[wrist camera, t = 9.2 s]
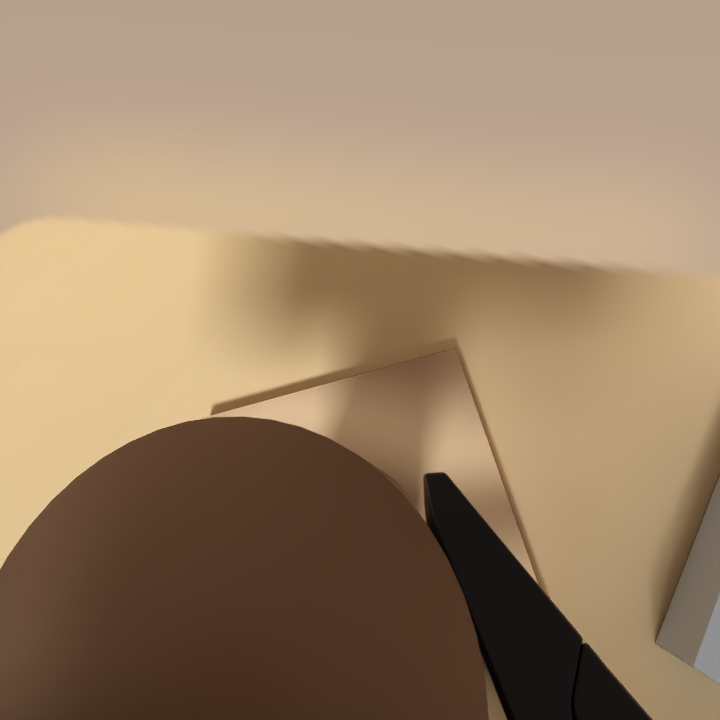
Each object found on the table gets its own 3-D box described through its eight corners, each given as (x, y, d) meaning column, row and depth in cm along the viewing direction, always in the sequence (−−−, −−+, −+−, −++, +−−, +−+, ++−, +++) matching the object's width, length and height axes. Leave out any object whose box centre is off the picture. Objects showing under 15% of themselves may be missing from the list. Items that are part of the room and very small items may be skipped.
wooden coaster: (554, 641, 15) (560, 647, 15) (251, 721, 15) (245, 731, 15) (453, 352, 19) (455, 348, 18) (208, 419, 19) (202, 417, 18)
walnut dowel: (439, 518, 15) (608, 671, 3) (365, 615, 15) (185, 1345, 2) (353, 443, 16) (218, 329, 4) (280, 530, 16) (-150, 708, 3)
